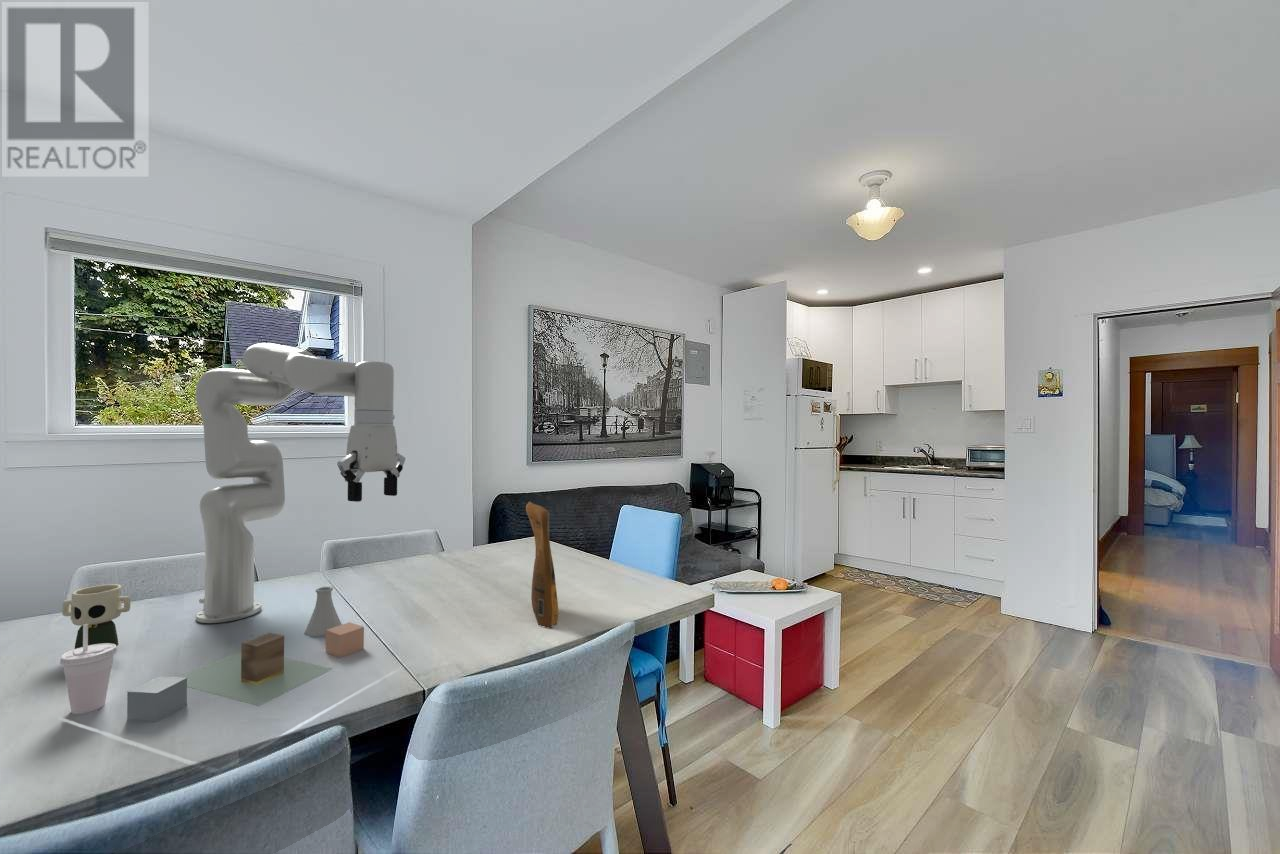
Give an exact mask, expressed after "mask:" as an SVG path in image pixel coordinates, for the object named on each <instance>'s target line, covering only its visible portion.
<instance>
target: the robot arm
mask: <svg viewBox="0 0 1280 854" xmlns="http://www.w3.org/2000/svg"><path fill="white" fill-rule="evenodd" d="M242 356H243V357H242V363H243V365H244V367H245V369H247V370H245V369H238V368H215V369H211V370H208V371H206V372H204V373H203V374H202V375H201V376H200V378H199V379H198V381H197V383H196V387H195V401H196V405H197V409H198V412H199V414H200V417H201V421H202V426H203V440H204V441H203V442H204V457H205V458H204V459H205V467H206V472H207V473H208V475H209V477H211V478H213V479H214V480H222V481H225V480H226V481H229V480H230V481H231V480H242V479H252V481H253V483H252V482H251V483H240V484H239V483H238V484H230V485H229V484H228V485H222V486H217V487H214V488H212V489H209V490H207V491H206V492H205V493H204V494H203V495H202V497H201V499H200V502H199V511H200V516H201V519H202V525H203V530H204V596H203V597H202V596H201V597H200V598H199V599H198V603H199V604H203V609H202V610H199V611H198V612H197V613H196V615H195V621H196V622H198V623H202V624H219V623H227V622H233V621H238V620H242V619H245V618H249V617H250V616H254V615H256V614H258V613H259V612H260V611H261V610H262V604H261V603H260V602H258V601H255V600H254V599H255V597H254V593H255V589H254V588H255V539H254V536H253V535H252V533H251V532H250V530H249V529H248V528H247V526H246V525H245V523H249V522H255V521H261V520H266V519H271V518H275V517H276V516H278V515H279V514H281V513H282V511H283V509H284V508H285V507H284V506H285V502H286V501H285V500H286V493H285V491H286V489H285V488H286V487H285V475H284V461H283V455H282V452H281V451H280V449H279V447H278V446H277V445H276V444H274V443H273V442H271V441H268V440H267V441H266V440H250V439H249V438H250V437H249V433H248V431H249V430H248V422H247V420H246V419H245V416H244V415H243V413H241V411H239V409H238V408H237V407H235V405H246V406H247V405H248V406H249V405H251V406H265V407H266V406H268V407H269V406H276V405H279V404H282V403H283V402H284V401H286V400H287V399H288V398H289V397H290V396H291V395H293V394H294V393H295V392H296V391H297V390H298V391H299V390H300V391H303V392H307V393H312V394H317V395H322V396H324V395H325V396H340V397H341V396H343V397H353V398H354V415H353V417H354V419H353V421H354V424H353V425H351V426H350V428H349V432H348V437H347V444H346V453H345V454H346V455H345V456H344V457H343V458H341V459H340V460H338V461H337V468H338V470H339V471H340V475H341V476H342V477H343V479H344V482H346V483H347V501H348V502H357V503H360V502H362V500H363V482H362V481H361V479H362V478H363V476H364V475H365V473H374V472H375V473H377V472H383V473H384V475H385V476H386V477H384V478H383V495H385V496H392V497H395V496H397V495H398V478H399V477H400V476H401V472H402V471H403V469H404V468H403V466H404V464H405V461H406V457H405V456H403V455H402V454H400V453H399V452H398V442H397V433H396V428H395V425H394V420H395V415H394V383H395V381H394V380H395V379H394V378H395V377H394V376H395V374H394V373H395V372H394V367H393V366H392V364H391V363H388V362H383V361H373V360H370V361H369V360H368V361H367V360H366V361H359V362H358V363H357V362H351V361H350V362H349V361H345V360H344V361H343V360H336V359H329V358H323V357H322V358H320V357H316V356H315V355H314V354H313V353H311V351H308V350H305V349H303V348H301V347H295V346H289V345H281V344H277V343H271V342H267V343H266V342H262V343H256V344H253V345H251V346H249V347H248V348H247V349H246V350H245V351H244V354H243V355H242Z"/></svg>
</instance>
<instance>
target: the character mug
mask: <svg viewBox="0 0 1280 854" xmlns="http://www.w3.org/2000/svg"><path fill="white" fill-rule="evenodd" d="M122 602H123V606H122ZM61 606H62V609H61V611H62V616H64V617H70V620H71V623H72V624H73V625H75V626H79V628H78V629H77V633H76V638H75V642H74V643H75V644H74V649H77V648H81V647H83V625H84V624H88V646H89V645H94V644H102V643H111V644H115V645H116V648H117V647H118V646H119V639H118V638H119V637H118V632H117V627H116V624H115V622H114V621H113V620H116V619H117V618H119V617H120V616H121V614H122V613H127V612H130V609H131V596H129V595H122V585H121V584H116V583H113V584H109V583H108V584H100V585H93V586H88V587H84V588H79V589H77V590H74V591H73V592H72V593H71V598H70V599H65V600H63V602H62V605H61Z"/></svg>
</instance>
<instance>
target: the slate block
mask: <svg viewBox="0 0 1280 854" xmlns="http://www.w3.org/2000/svg"><path fill="white" fill-rule="evenodd" d="M126 696H127V697H126V698H127V699H126V701H127V703H126V704H127V706H126V707H127V708H126V709H127V710H126V711H127V712H126V713H127V714H126V721H132V722H135V721H136V722H150V723H158V722H159V721H161V720H163V719H165V718H166V717H168V716H170V715H172V714H174V713H175V712H177V711H178V710H181V709H182V708H184V707H186V706H187V705H188V702H187V701H188V687H187V678H182V677H176V676H161V675H160V676H157V677H155V678H153V679H150V680H149V681H148V680H147V682H145V683H142V684H140V685H138V686H136V687H134V688H132V689H129V690H128V691H127V694H126Z"/></svg>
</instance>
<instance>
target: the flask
mask: <svg viewBox="0 0 1280 854" xmlns="http://www.w3.org/2000/svg"><path fill="white" fill-rule="evenodd" d="M333 590H334V587H333V586H322V587H318V588H317V589H315V593H316V601H315V606H314V609H313V612H312V614H311V617H310V619H309V622H308V624H307V626H306V629H305V630H304V634H303V635H305V636H307V637H309V638H319V637H325V638H326V630H327V629H331V628H334V627H337V626H340V625H343V624H342V621H341V619H340V618H339V617H340V616H338V613H337V610H336V609H335V606H334V602H333V597H332V591H333Z"/></svg>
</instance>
